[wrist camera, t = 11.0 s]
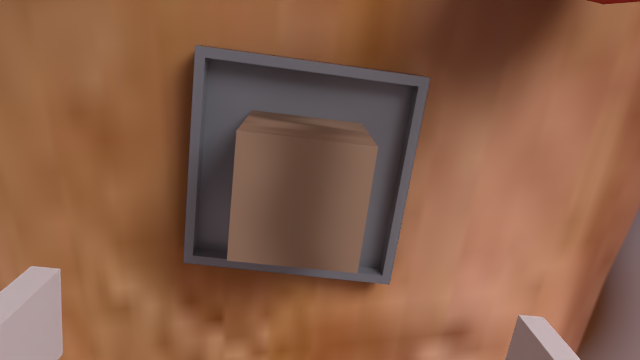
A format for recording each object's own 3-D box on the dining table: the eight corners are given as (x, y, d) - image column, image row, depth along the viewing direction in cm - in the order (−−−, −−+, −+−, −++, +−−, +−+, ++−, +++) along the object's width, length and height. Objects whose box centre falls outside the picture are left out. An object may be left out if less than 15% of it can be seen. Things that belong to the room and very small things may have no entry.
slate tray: (189, 251, 32) (183, 262, 31) (201, 45, 28) (195, 45, 27) (385, 271, 33) (389, 284, 32) (422, 75, 29) (430, 77, 28)
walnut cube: (243, 213, 31) (226, 260, 24) (252, 110, 29) (236, 130, 22) (346, 224, 32) (357, 273, 25) (361, 123, 30) (378, 146, 23)
